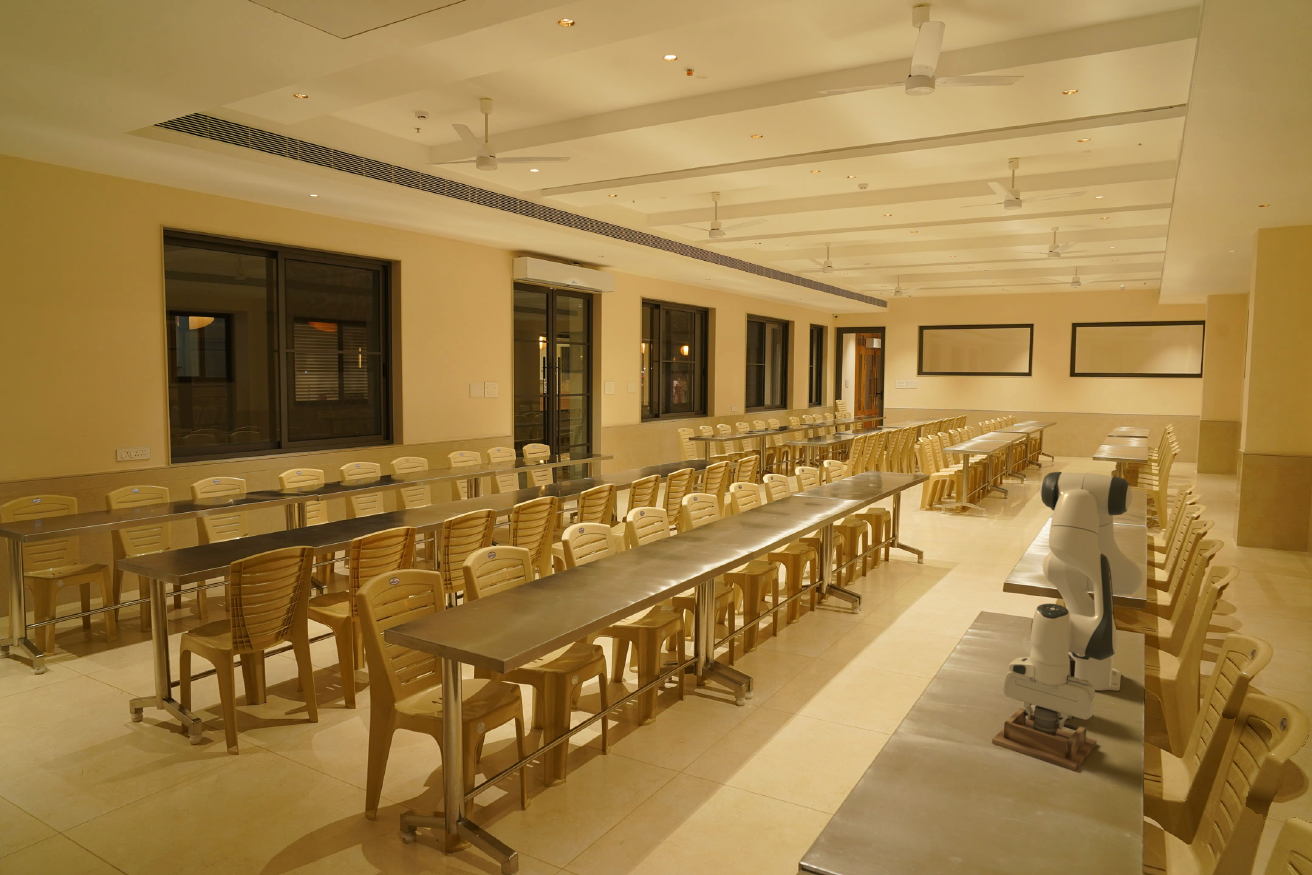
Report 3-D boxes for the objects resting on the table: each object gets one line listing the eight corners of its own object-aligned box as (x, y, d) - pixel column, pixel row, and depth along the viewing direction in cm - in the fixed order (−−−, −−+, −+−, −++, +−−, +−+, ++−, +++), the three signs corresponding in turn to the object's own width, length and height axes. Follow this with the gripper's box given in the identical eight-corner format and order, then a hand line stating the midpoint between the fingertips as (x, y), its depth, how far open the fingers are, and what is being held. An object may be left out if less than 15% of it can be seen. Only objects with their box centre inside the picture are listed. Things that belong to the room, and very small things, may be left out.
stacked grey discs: (1036, 724, 196) (1038, 702, 196) (1059, 732, 192) (1061, 709, 192) (1029, 732, 192) (1031, 709, 192) (1053, 739, 189) (1054, 716, 188)
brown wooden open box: (1017, 719, 206) (1018, 701, 205) (1096, 744, 193) (1097, 724, 192) (991, 742, 193) (993, 723, 192) (1075, 770, 180) (1076, 750, 179)
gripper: (1099, 678, 186) (1095, 733, 187) (1011, 656, 200) (1008, 707, 201) (1091, 686, 181) (1087, 742, 183) (1002, 662, 195) (999, 715, 197)
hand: (1045, 723), depth 192 cm, fingers closed on stacked grey discs, 5 cm apart
